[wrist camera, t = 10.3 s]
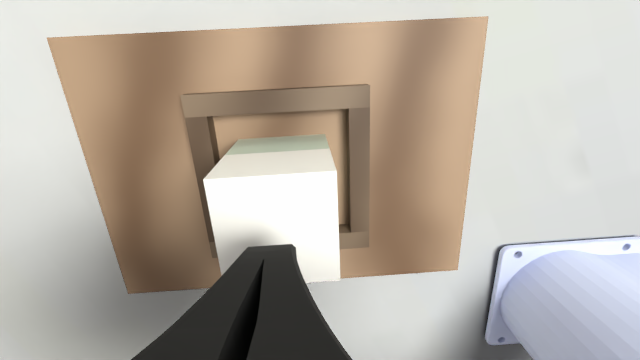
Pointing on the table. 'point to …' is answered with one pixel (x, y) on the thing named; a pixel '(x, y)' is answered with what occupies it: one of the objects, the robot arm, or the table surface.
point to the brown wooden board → (279, 134)
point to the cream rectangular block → (277, 202)
